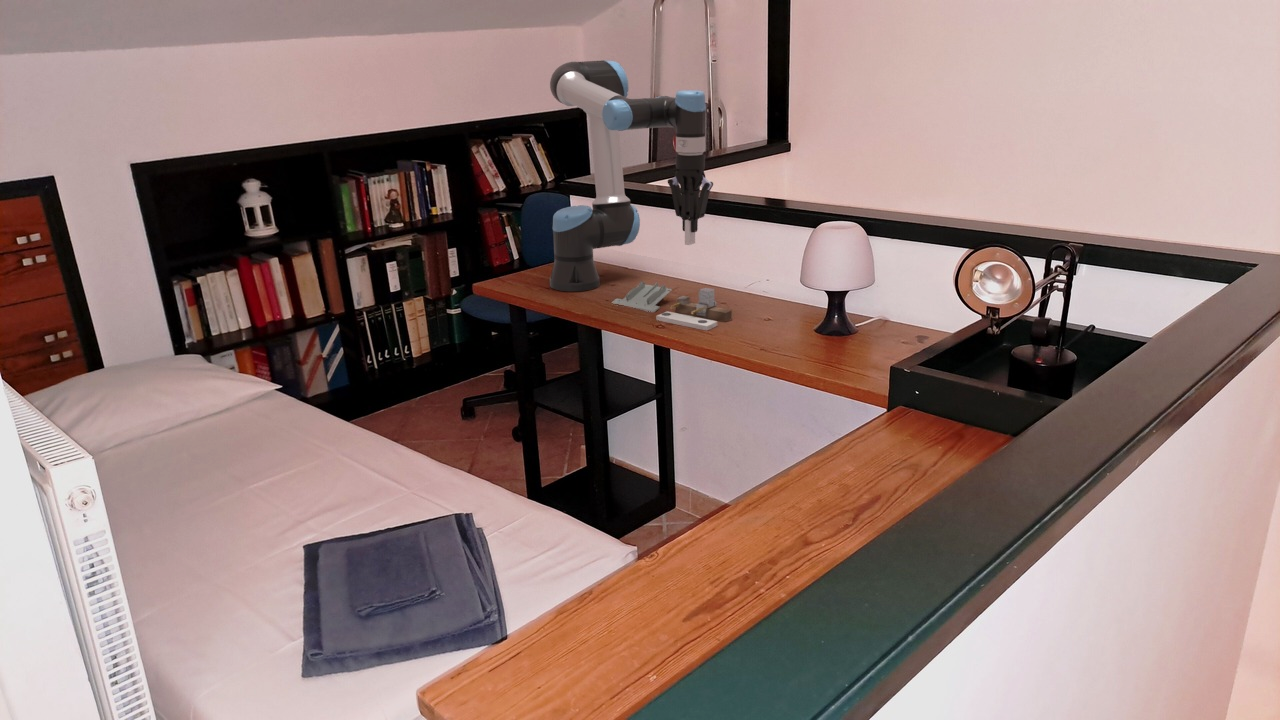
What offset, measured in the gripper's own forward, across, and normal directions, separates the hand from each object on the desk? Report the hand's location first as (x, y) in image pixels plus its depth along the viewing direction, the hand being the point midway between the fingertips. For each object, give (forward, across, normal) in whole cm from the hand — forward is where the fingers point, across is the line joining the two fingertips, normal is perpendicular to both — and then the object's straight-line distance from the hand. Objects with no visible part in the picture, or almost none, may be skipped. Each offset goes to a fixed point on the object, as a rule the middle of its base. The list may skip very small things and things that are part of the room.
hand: (689, 243), depth 242 cm
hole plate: (+19, +4, -8) cm, 21 cm away
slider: (+18, +5, -2) cm, 19 cm away
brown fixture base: (+19, +4, -2) cm, 20 cm away
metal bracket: (+20, -16, +1) cm, 25 cm away
